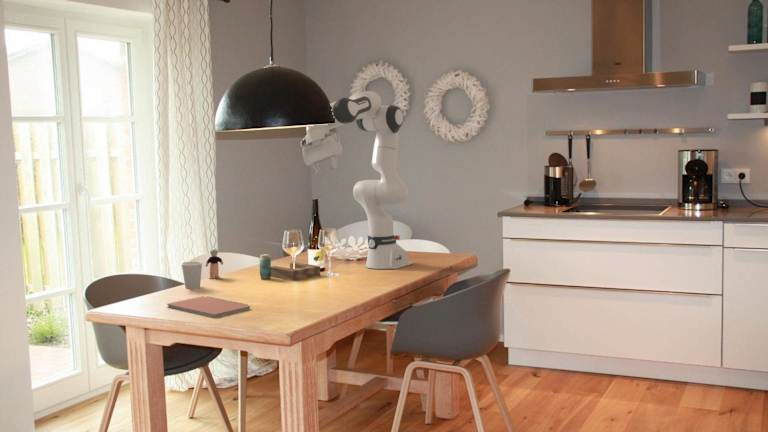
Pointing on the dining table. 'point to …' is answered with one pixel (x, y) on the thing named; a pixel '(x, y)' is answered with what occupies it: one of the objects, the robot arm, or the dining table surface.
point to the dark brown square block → (295, 271)
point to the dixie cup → (192, 274)
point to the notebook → (209, 306)
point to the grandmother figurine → (214, 264)
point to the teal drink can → (265, 267)
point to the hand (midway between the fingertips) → (327, 171)
